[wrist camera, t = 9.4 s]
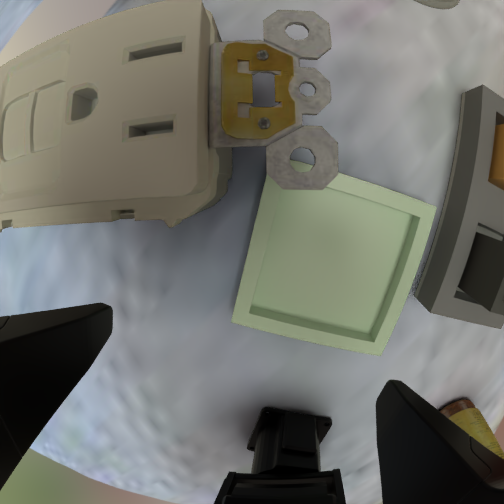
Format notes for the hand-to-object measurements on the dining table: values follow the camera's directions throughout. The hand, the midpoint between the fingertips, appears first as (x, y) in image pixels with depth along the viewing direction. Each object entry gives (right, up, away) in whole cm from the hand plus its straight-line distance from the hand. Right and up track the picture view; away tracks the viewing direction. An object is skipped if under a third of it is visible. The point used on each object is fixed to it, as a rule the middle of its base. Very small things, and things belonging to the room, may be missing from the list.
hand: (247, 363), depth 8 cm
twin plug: (+17, +3, +9) cm, 19 cm away
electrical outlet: (-10, +12, +11) cm, 19 cm away
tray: (+6, +3, +11) cm, 13 cm away
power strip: (+18, +7, +9) cm, 21 cm away
